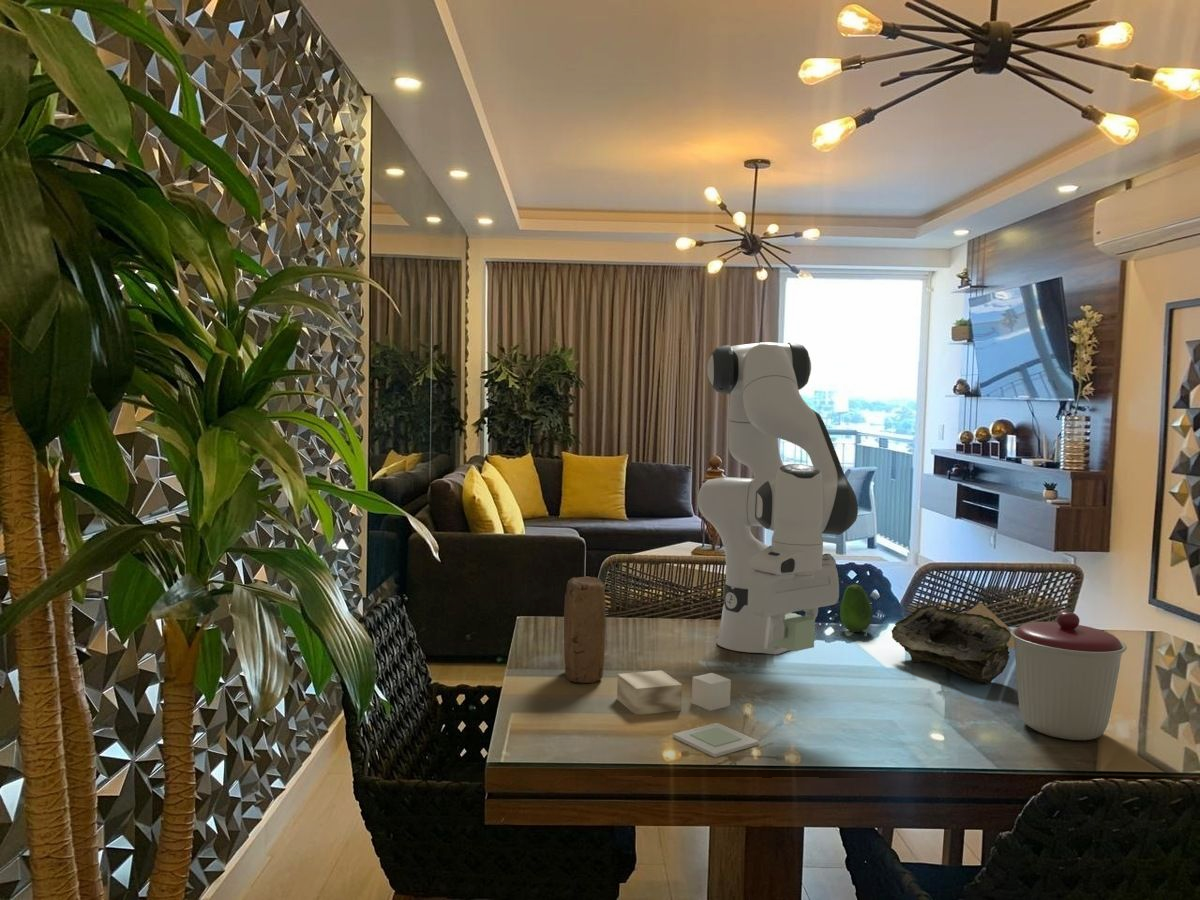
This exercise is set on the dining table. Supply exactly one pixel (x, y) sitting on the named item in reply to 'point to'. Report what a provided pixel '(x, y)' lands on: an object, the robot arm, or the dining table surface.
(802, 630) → the sage cube
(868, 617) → the avocado
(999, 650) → the hollow geode rock
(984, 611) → the model pyramid
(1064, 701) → the canister
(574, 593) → the block
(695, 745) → the card
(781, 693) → the dining table surface
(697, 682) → the offwhite cube
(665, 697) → the base block
